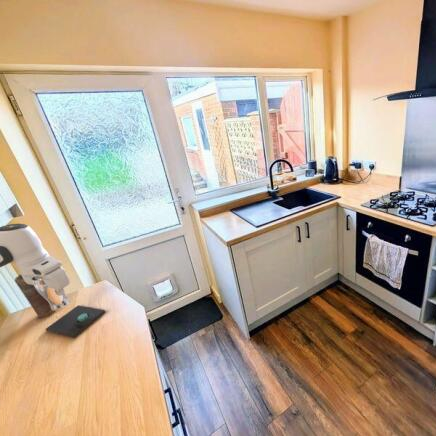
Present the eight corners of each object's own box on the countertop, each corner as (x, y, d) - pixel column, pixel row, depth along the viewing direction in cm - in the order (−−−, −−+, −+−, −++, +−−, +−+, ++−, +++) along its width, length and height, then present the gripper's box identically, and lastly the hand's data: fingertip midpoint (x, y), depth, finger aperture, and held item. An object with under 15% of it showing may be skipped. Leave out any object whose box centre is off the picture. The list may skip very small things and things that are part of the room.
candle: (54, 304, 114) (31, 268, 105) (64, 306, 111) (41, 270, 103) (35, 316, 107) (8, 280, 99) (45, 319, 105) (19, 282, 97)
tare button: (77, 321, 98) (75, 318, 98) (84, 315, 101) (83, 312, 100) (82, 322, 97) (80, 319, 97) (90, 316, 100) (88, 313, 99)
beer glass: (55, 302, 101) (36, 272, 94) (75, 296, 103) (57, 267, 96) (46, 313, 95) (25, 283, 88) (68, 308, 97) (49, 277, 90)
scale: (46, 331, 99) (42, 326, 97) (79, 307, 110) (76, 302, 108) (75, 338, 94) (71, 332, 93) (106, 312, 105) (103, 307, 104)
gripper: (7, 267, 91) (28, 295, 97) (44, 272, 85) (64, 302, 91) (28, 257, 96) (46, 285, 102) (63, 261, 90) (81, 290, 96)
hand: (54, 293), depth 96 cm, fingers closed on beer glass, 6 cm apart
